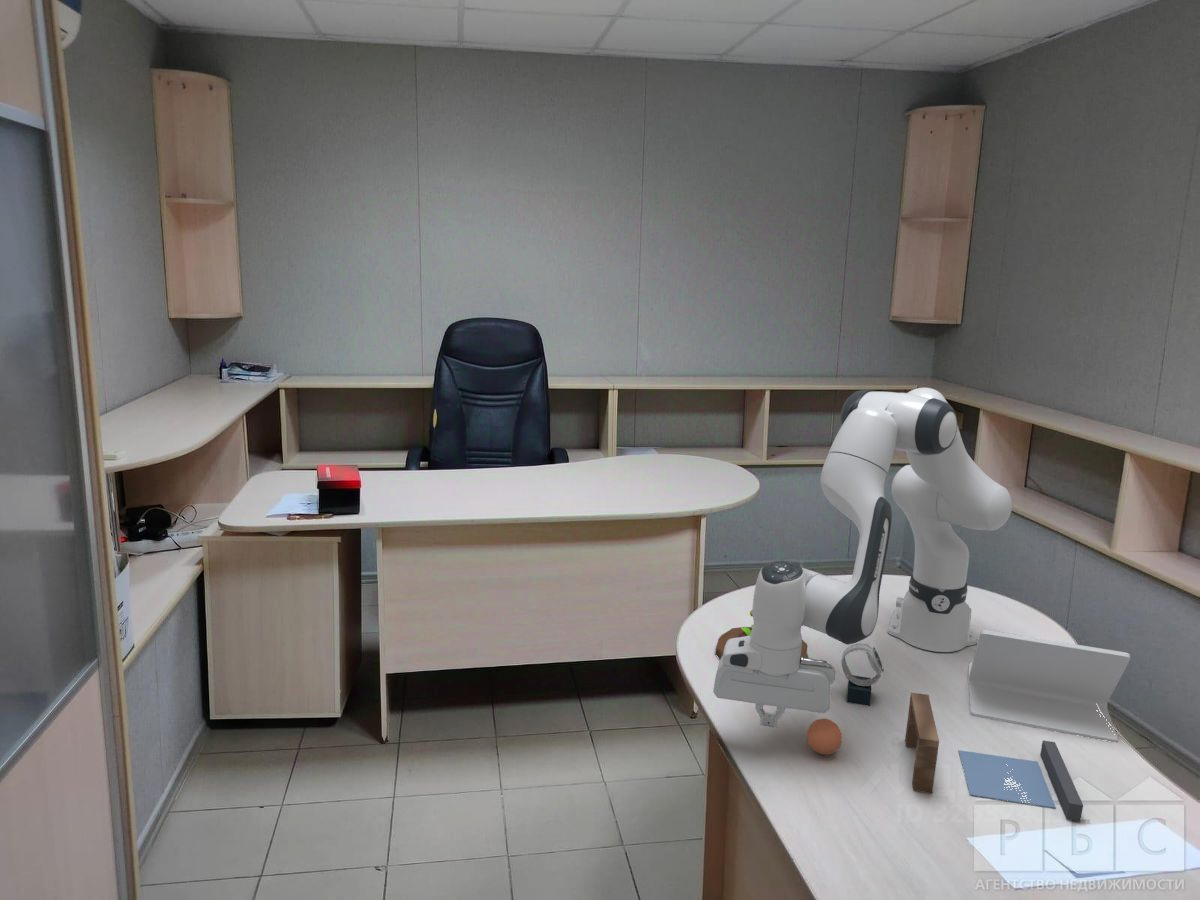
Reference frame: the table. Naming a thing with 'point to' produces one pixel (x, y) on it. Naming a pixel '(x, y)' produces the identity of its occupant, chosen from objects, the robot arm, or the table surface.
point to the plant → (741, 633)
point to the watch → (856, 684)
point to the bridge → (922, 741)
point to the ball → (824, 736)
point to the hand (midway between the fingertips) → (768, 724)
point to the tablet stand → (1044, 684)
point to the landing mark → (991, 771)
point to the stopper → (1061, 781)
